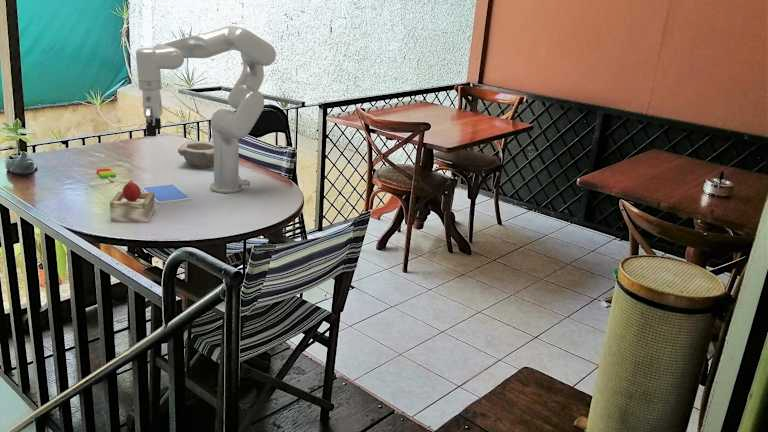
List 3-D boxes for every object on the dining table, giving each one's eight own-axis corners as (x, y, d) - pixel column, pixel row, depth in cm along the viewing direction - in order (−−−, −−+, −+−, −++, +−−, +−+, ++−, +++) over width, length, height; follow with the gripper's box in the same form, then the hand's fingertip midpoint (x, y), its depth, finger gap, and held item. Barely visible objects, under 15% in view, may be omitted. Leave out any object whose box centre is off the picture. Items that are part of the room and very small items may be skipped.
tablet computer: (141, 190, 265) (141, 187, 264) (173, 186, 272) (173, 183, 272) (158, 205, 250) (158, 202, 250) (191, 201, 257) (191, 197, 257)
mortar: (212, 173, 291) (212, 152, 288) (174, 168, 293) (173, 147, 290) (226, 163, 307) (226, 143, 304) (190, 158, 309) (189, 139, 305)
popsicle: (110, 172, 283) (109, 168, 283) (119, 182, 272) (119, 177, 271) (96, 173, 280) (95, 169, 280) (105, 183, 269) (104, 179, 268)
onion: (134, 205, 233) (131, 183, 230) (120, 204, 235) (117, 181, 232) (145, 200, 238) (142, 178, 236) (131, 199, 240) (128, 177, 237)
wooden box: (155, 211, 244) (154, 192, 242) (147, 222, 233) (146, 203, 231) (120, 210, 243) (118, 191, 240) (111, 222, 232) (109, 202, 229)
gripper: (157, 89, 231) (161, 139, 237) (165, 80, 247) (168, 126, 253) (133, 89, 230) (138, 139, 236) (143, 79, 245) (147, 126, 252)
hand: (154, 132), depth 244 cm, fingers open, 9 cm apart
